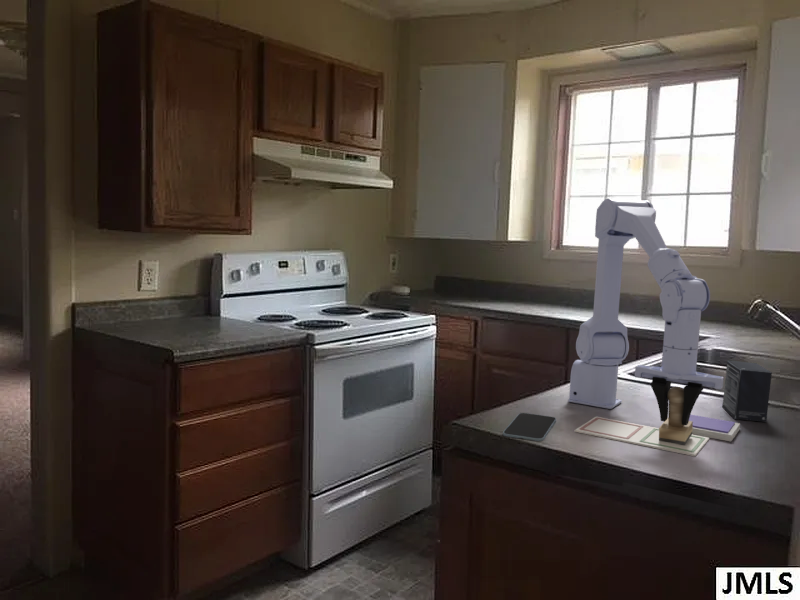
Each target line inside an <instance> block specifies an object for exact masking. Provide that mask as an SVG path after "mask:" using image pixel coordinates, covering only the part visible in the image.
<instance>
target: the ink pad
mask: <svg viewBox="0 0 800 600" xmlns="http://www.w3.org/2000/svg"><path fill="white" fill-rule="evenodd" d="M689 421H693V428H692V435H697V436H703V437H708V438H709V439H710V438H711V439H716V440H721V441H726V442H730V443H731V442H732V441H733V440H734V438H736V436H737V434H738V432H739V431H740V427H741V423H740V422H739V423H738V422H735V421H731V420H723V419H719V418H713V417H707V416H701V415H695V414H690V418H689Z"/></svg>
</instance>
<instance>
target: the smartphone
mask: <svg viewBox="0 0 800 600" xmlns="http://www.w3.org/2000/svg"><path fill="white" fill-rule="evenodd" d="M556 422H557V418H556V417H554V416H549V415H543V414H534V413H529V412H520V413H518V414H517V415H516V416H515V418H514V419H512V421H510V423H509V424H508V426H507V427H505V429H504V430H503V432H502V435H503V437H509V438H515V439H523V440H528V441H529V440H530V441H534V442H535V441H536V442H543V441H544V440H545V438H546V437H547V436H548V435H549V432H550V431H551V430H552V429H553V427H554V425H555V424H556Z"/></svg>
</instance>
